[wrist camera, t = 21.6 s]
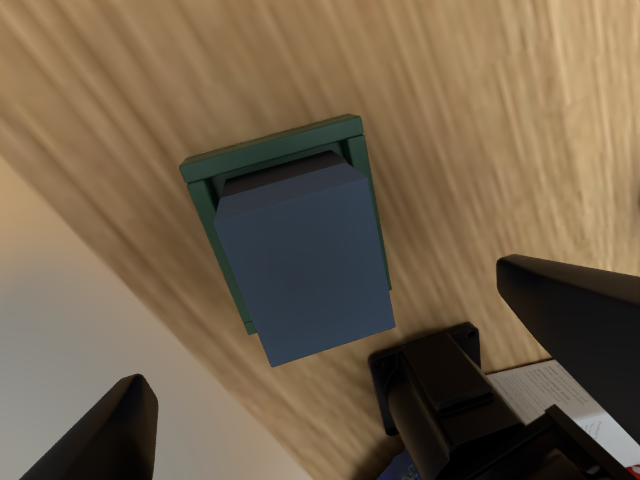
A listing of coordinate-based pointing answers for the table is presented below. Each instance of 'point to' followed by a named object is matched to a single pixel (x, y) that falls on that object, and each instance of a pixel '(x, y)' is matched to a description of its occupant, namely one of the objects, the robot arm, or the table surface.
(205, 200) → the frame
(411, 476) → the blue patterned cloth
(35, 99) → the table surface
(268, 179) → the charcoal pad
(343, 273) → the blue pad
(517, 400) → the cosmetic box
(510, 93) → the table surface
